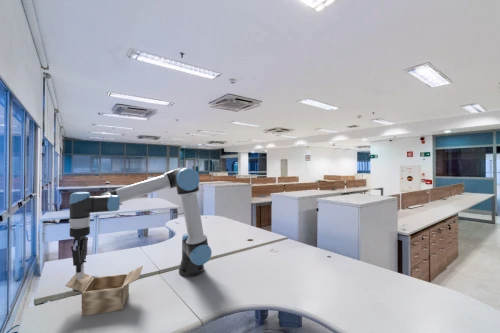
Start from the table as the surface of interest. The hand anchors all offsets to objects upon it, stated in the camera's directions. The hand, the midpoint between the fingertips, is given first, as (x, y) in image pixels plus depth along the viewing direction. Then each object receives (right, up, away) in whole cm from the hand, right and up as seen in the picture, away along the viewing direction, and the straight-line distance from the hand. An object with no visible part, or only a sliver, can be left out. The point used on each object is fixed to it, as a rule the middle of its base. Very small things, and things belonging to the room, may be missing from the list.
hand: (79, 278), depth 108 cm
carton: (+10, -14, +4) cm, 17 cm away
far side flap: (+3, -3, +1) cm, 4 cm away
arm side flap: (+18, -3, +6) cm, 19 cm away
